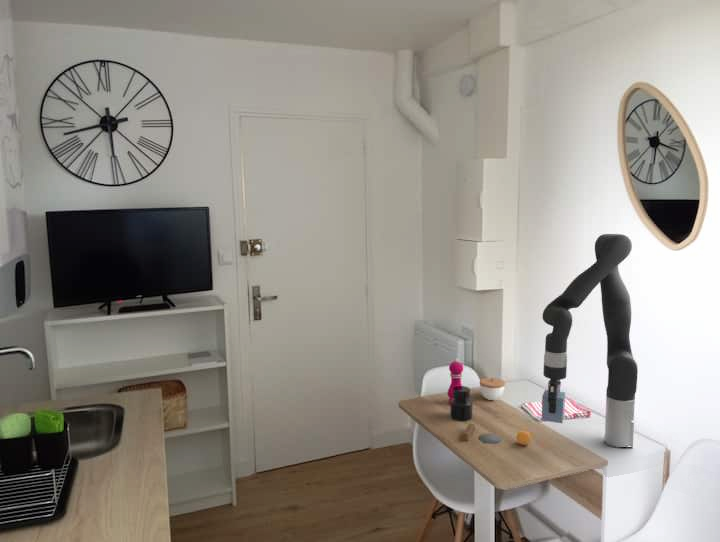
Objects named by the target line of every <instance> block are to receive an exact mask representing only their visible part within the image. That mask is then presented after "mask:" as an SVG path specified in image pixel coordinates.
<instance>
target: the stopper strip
mask: <svg viewBox="0 0 720 542" xmlns="http://www.w3.org/2000/svg"><path fill="white" fill-rule="evenodd" d="M475 427H476V426H475V424H474V423H469V424H468V425H467V426H466V427H465V429H464V431H463V433H462V441H466V442H469V440H470V438H471V437H472V436H473V434H474V432H475V431H474V430H475ZM471 435H472V436H471Z"/></svg>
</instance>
